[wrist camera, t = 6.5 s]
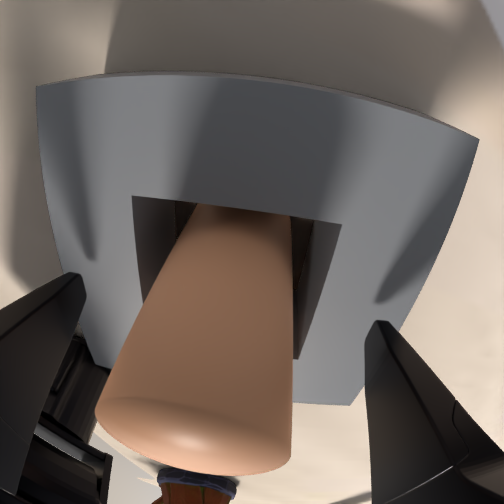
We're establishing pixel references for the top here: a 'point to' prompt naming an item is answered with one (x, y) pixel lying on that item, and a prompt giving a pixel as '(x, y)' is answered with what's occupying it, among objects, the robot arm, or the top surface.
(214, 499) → the mug
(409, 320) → the top surface
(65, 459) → the robot arm
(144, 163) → the socket block
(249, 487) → the top surface
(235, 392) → the peg
